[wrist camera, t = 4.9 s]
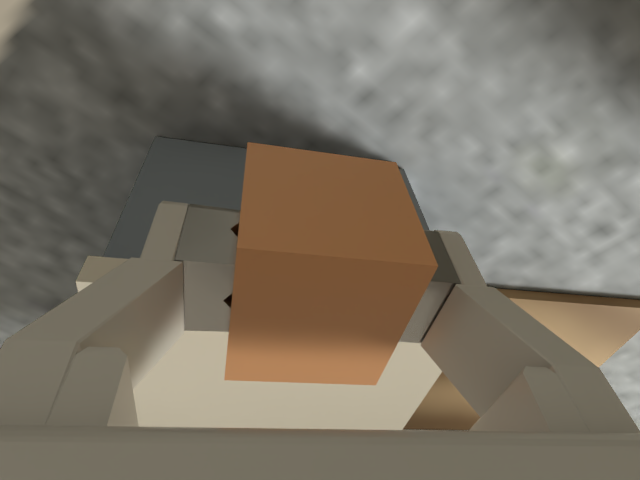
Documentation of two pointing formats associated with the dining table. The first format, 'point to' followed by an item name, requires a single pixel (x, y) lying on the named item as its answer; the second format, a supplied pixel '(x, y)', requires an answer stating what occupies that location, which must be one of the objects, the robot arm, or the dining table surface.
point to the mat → (564, 321)
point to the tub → (186, 187)
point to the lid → (305, 305)
